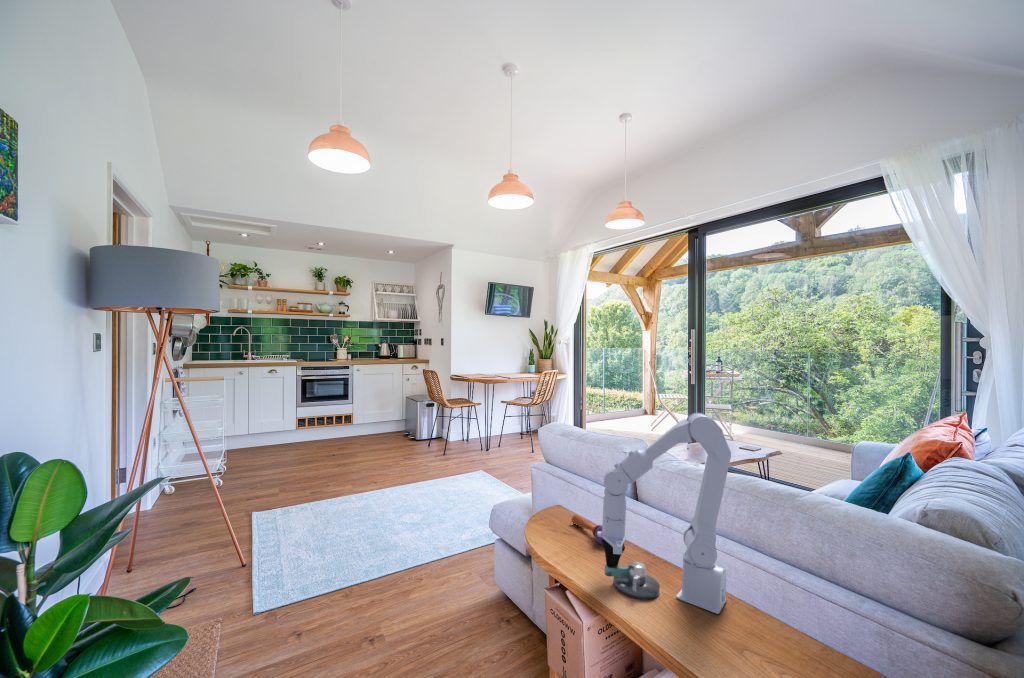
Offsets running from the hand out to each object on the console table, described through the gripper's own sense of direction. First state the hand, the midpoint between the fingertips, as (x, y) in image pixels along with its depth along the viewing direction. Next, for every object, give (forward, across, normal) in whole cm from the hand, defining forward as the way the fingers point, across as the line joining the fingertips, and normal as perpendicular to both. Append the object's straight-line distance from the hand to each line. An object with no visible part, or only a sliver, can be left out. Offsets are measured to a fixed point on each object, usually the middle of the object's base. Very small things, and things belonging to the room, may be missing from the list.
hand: (611, 571), depth 108 cm
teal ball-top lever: (+1, +2, +3) cm, 4 cm away
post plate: (+3, +2, +6) cm, 7 cm away
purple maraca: (+3, -30, -2) cm, 30 cm away
